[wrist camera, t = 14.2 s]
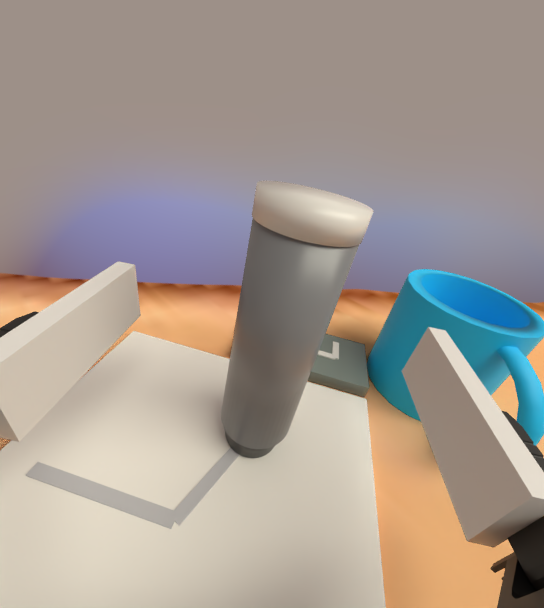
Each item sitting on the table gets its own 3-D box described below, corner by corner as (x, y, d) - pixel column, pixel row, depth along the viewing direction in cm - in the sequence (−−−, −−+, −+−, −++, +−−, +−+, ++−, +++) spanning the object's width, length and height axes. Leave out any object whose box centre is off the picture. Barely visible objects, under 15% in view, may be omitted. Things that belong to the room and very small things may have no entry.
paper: (-226, 664, 8) (-240, 662, 8) (134, 334, 21) (133, 329, 21) (412, 979, 6) (422, 991, 6) (364, 402, 20) (367, 398, 19)
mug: (354, 343, 25) (389, 262, 21) (435, 352, 26) (484, 277, 22) (416, 486, 15) (507, 388, 11) (543, 492, 16) (674, 404, 12)
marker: (205, 452, 14) (240, 187, 8) (231, 395, 18) (271, 177, 11) (277, 477, 14) (380, 223, 7) (290, 414, 17) (368, 201, 11)
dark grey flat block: (234, 359, 21) (235, 348, 20) (252, 322, 25) (253, 313, 25) (364, 397, 20) (369, 387, 19) (360, 352, 24) (364, 343, 24)
